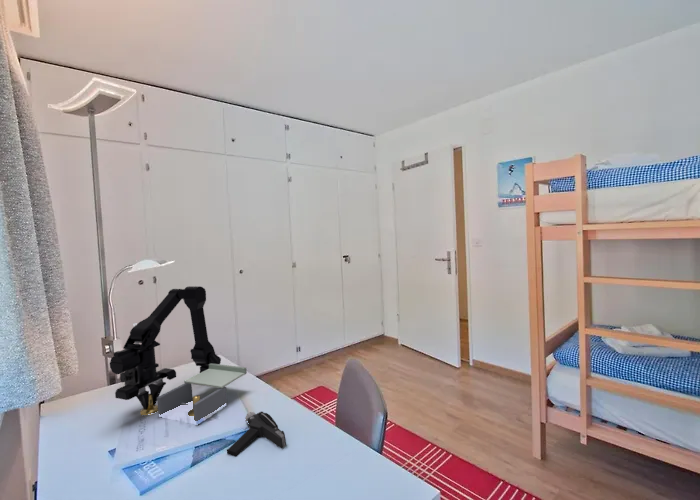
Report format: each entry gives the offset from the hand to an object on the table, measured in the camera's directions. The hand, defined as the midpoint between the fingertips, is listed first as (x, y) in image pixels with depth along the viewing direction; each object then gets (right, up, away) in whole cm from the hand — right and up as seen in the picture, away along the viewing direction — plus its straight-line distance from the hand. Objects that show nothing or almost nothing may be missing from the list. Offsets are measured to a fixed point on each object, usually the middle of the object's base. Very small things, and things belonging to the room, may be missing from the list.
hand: (149, 407), depth 120 cm
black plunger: (-20, -2, +28) cm, 34 cm away
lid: (+19, +7, +8) cm, 22 cm away
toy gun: (+40, -2, -19) cm, 44 cm away
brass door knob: (0, -2, 0) cm, 2 cm away
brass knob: (+18, -1, -5) cm, 19 cm away
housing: (+16, -1, -2) cm, 16 cm away
